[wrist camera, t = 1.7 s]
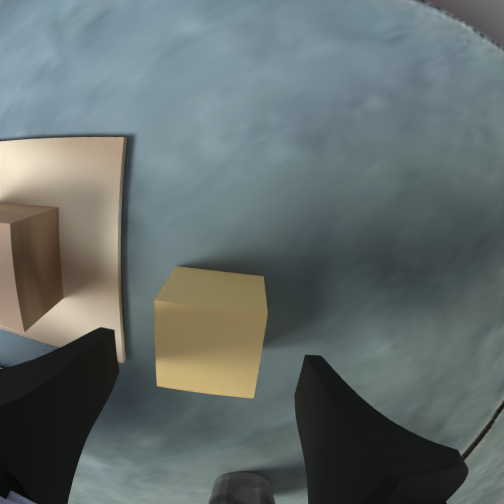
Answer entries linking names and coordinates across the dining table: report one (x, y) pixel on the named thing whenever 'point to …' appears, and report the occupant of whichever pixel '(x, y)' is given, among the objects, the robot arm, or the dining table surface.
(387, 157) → the dining table surface
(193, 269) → the ochre block
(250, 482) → the beverage cup
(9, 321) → the walnut block
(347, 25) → the dining table surface
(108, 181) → the build board
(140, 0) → the dining table surface
